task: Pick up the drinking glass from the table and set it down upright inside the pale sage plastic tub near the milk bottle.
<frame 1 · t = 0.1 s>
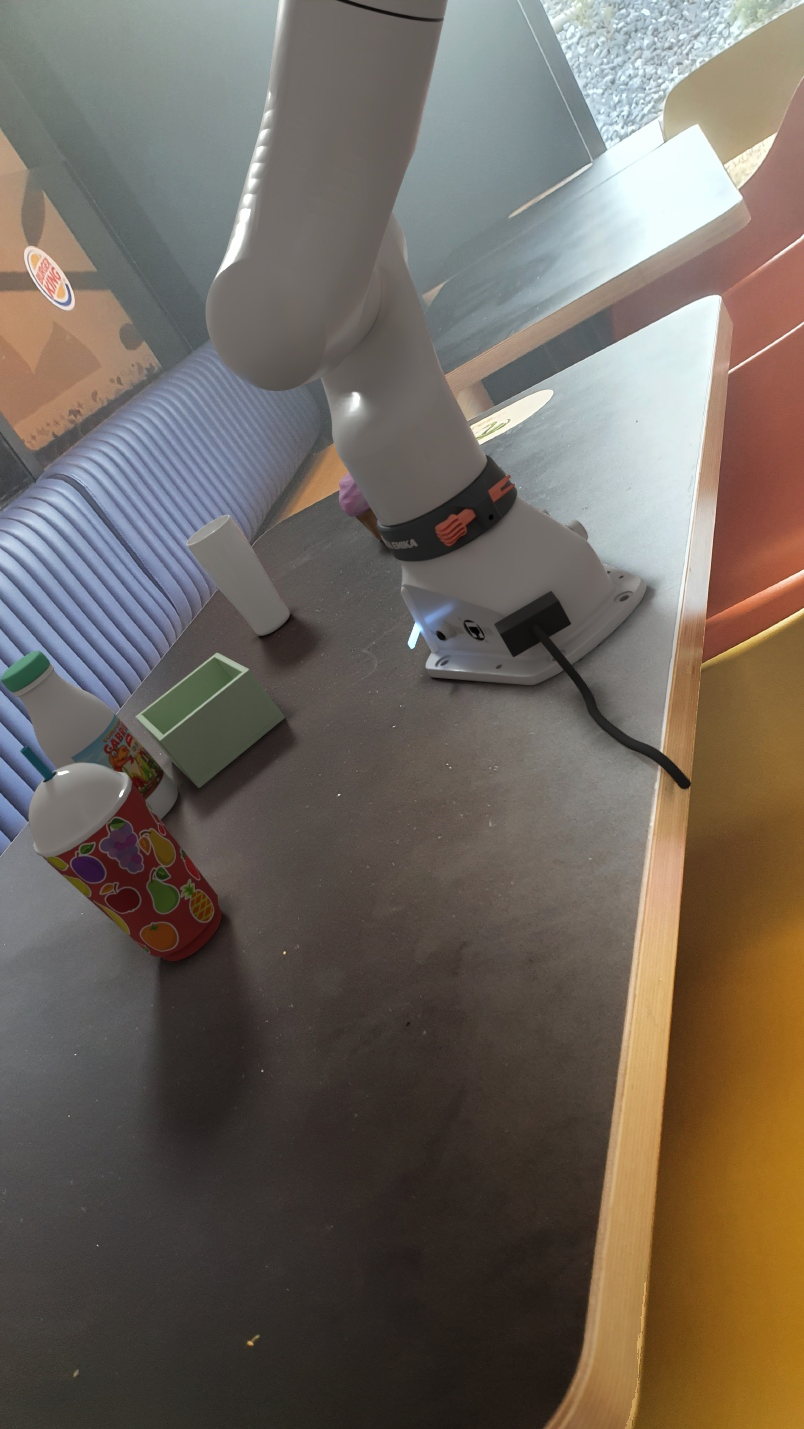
tub: (226, 740, 104), on the table
milk bottle: (150, 814, 99), on the table
smoothie: (194, 935, 76), on the table
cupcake: (394, 532, 131), on the table
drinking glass: (275, 626, 126), on the table
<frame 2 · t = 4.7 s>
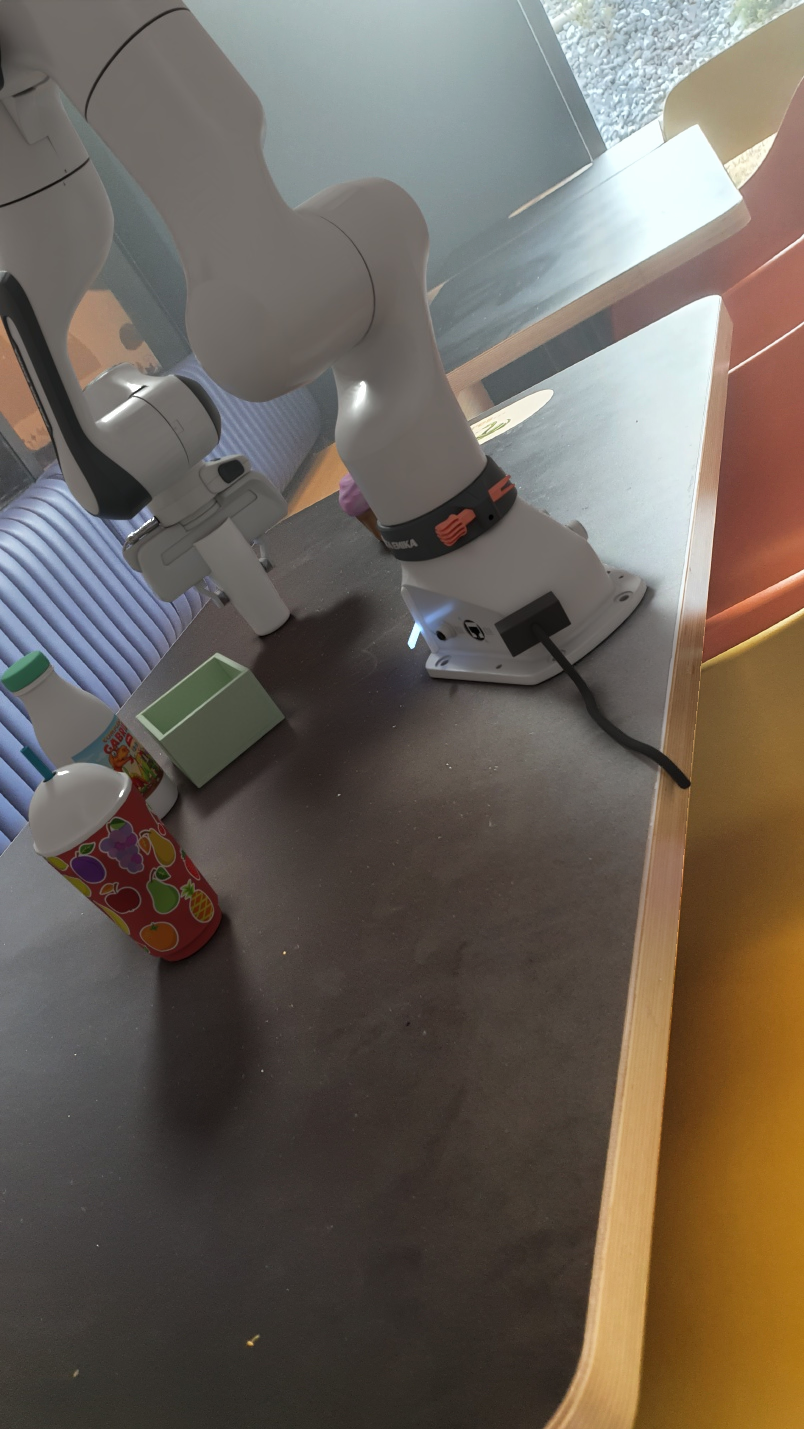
hand: (248, 586, 123), 6 cm above the table, tool pointing down, fingers closed on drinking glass, 6 cm apart
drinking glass: (275, 626, 126), on the table, touching gripper
everything else where it was.
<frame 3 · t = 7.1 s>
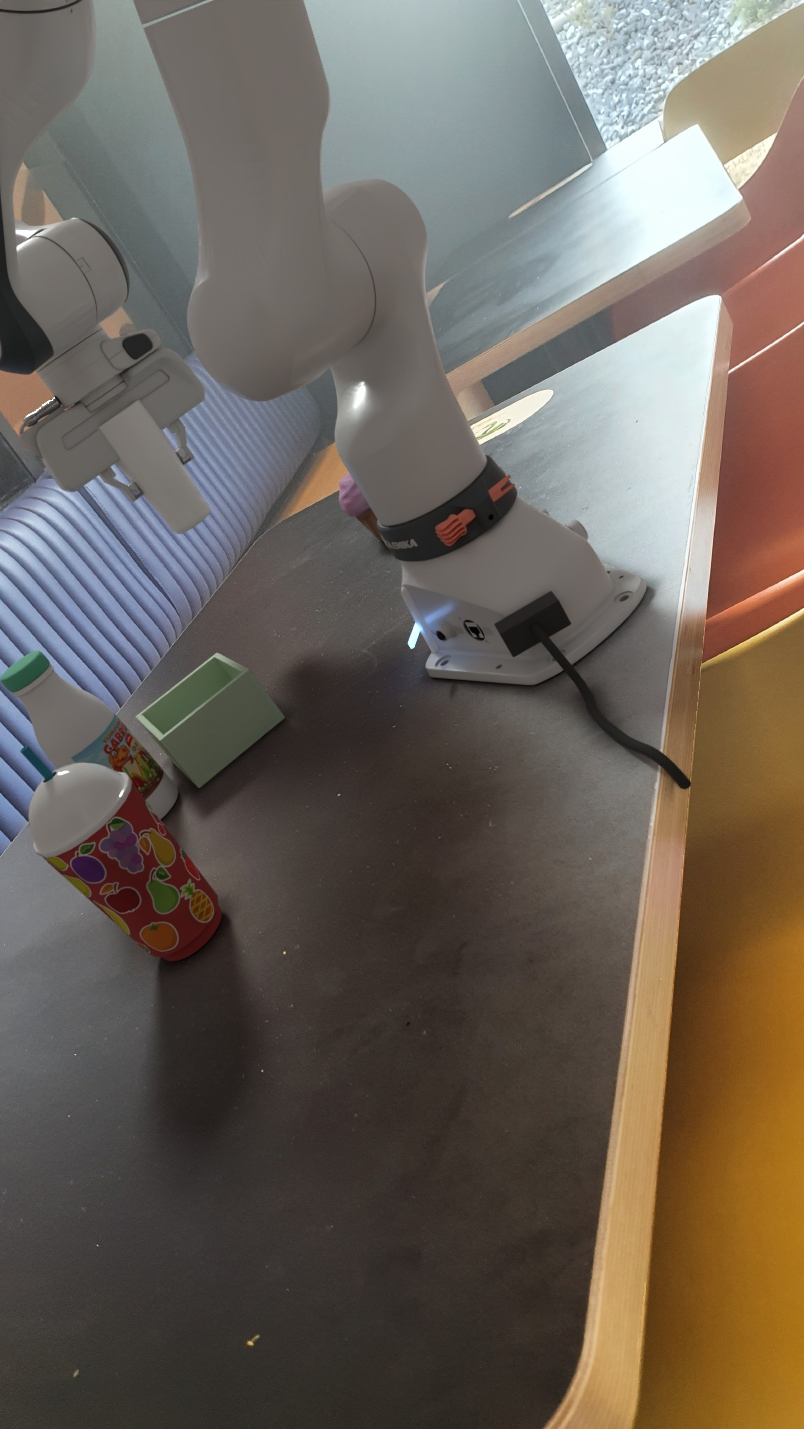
hand: (163, 479, 114), 23 cm above the table, tool pointing down, fingers closed on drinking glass, 6 cm apart
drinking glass: (195, 524, 116), point 17 cm above the table, touching gripper
everything else where it was.
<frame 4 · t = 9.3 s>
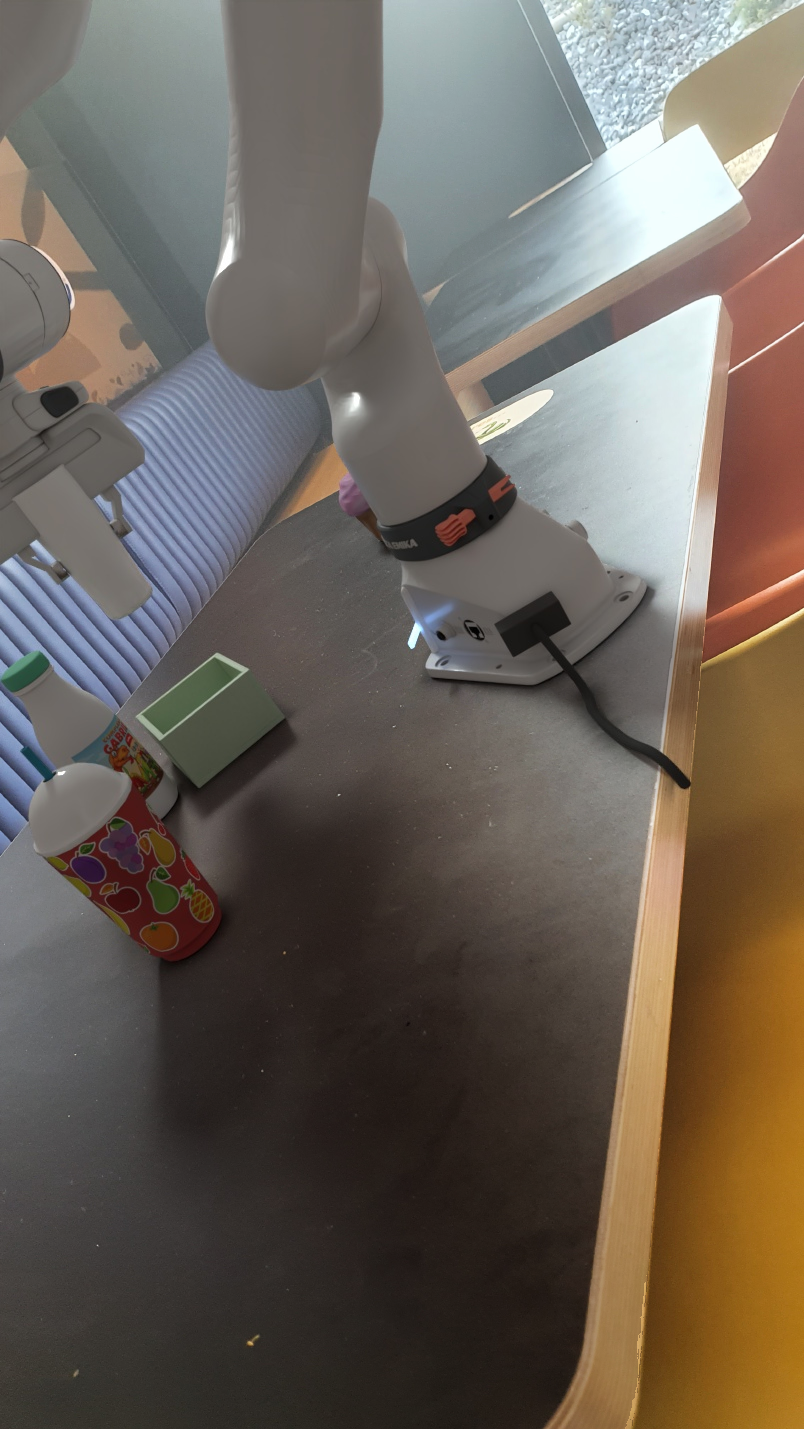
hand: (95, 557, 95), 23 cm above the table, tool pointing down, fingers closed on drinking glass, 6 cm apart
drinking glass: (134, 608, 98), point 17 cm above the table, touching gripper
everything else where it was.
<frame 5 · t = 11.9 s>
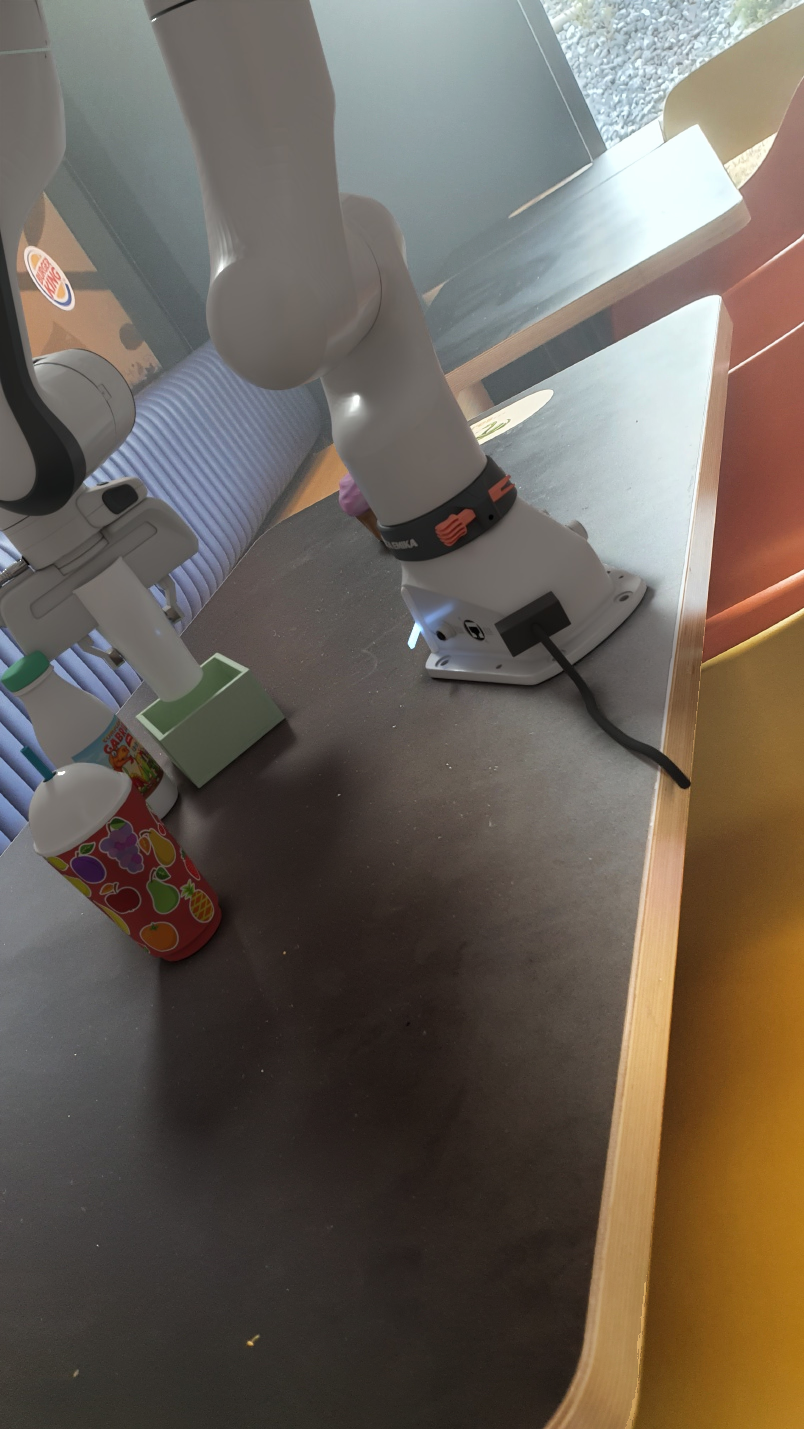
hand: (149, 642, 98), 14 cm above the table, tool pointing down, fingers closed on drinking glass, 6 cm apart
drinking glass: (185, 690, 101), point 7 cm above the table, touching gripper
everything else where it was.
when the fingers open (7 cm above the table, at t = 14.4 s): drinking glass stays where it is, resting on tub.
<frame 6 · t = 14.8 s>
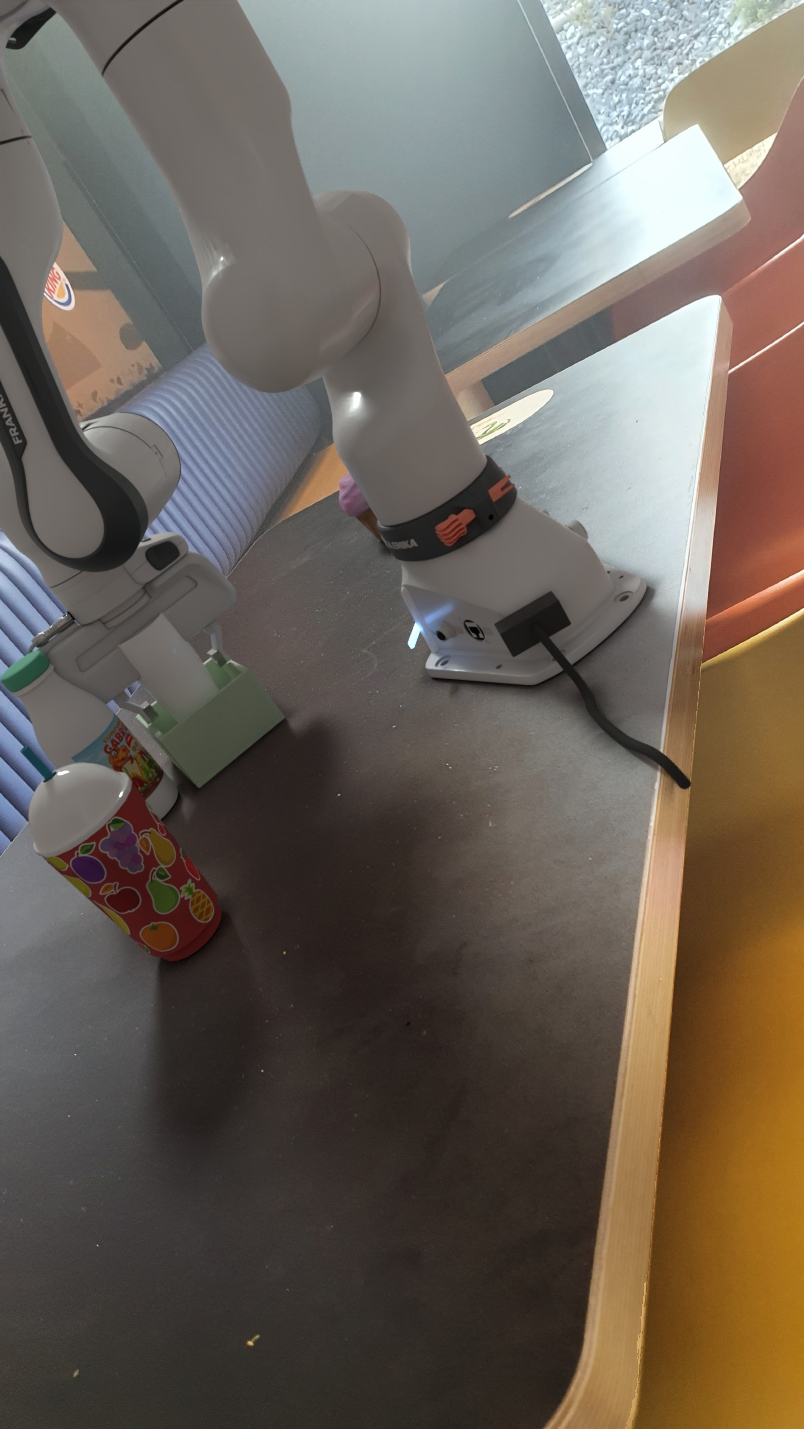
hand: (188, 691, 101), 7 cm above the table, tool pointing down, fingers open, 8 cm apart
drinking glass: (223, 737, 104), resting on tub
everything else where it was.
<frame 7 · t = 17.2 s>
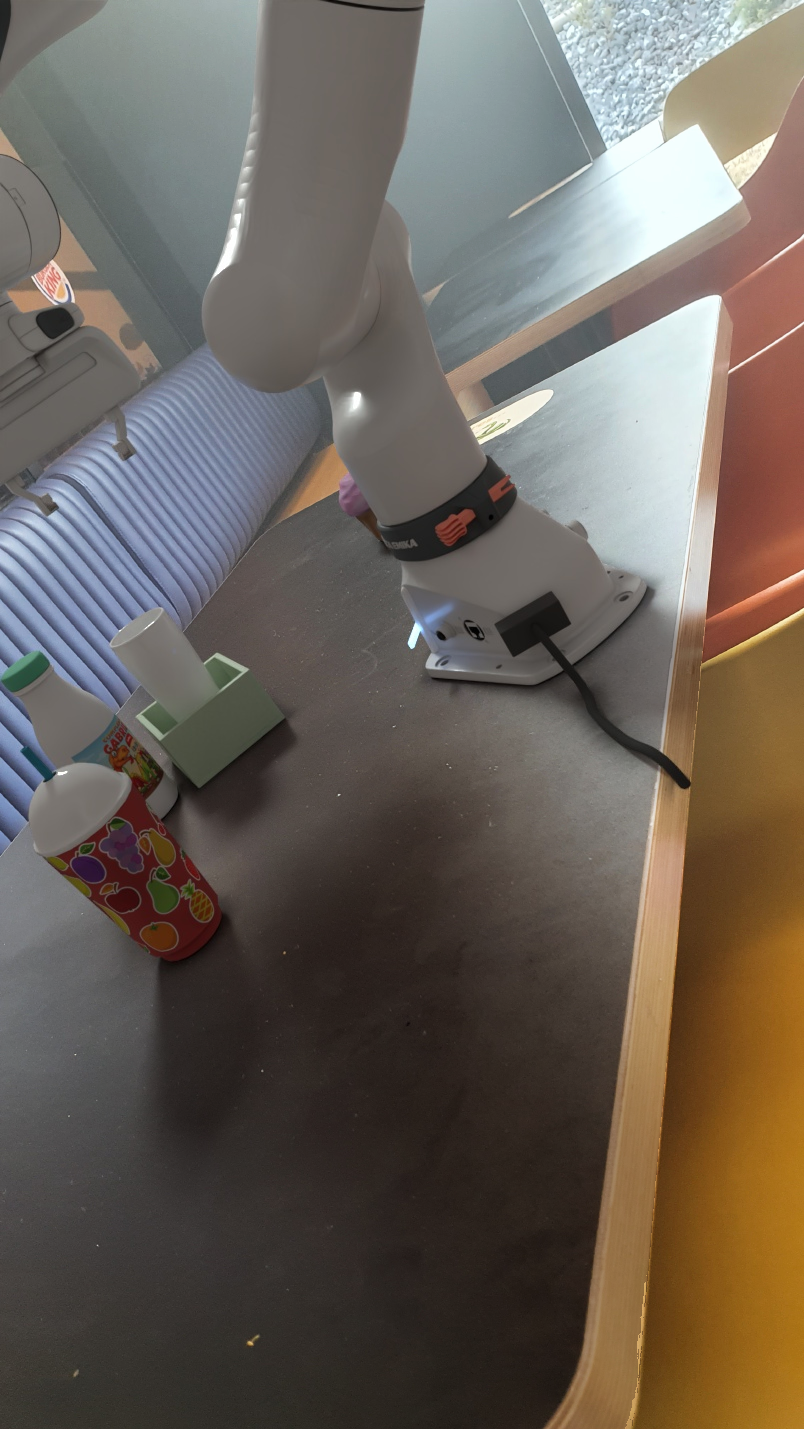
hand: (91, 484, 95), 29 cm above the table, tool pointing down, fingers open, 8 cm apart
nothing on the table moved.
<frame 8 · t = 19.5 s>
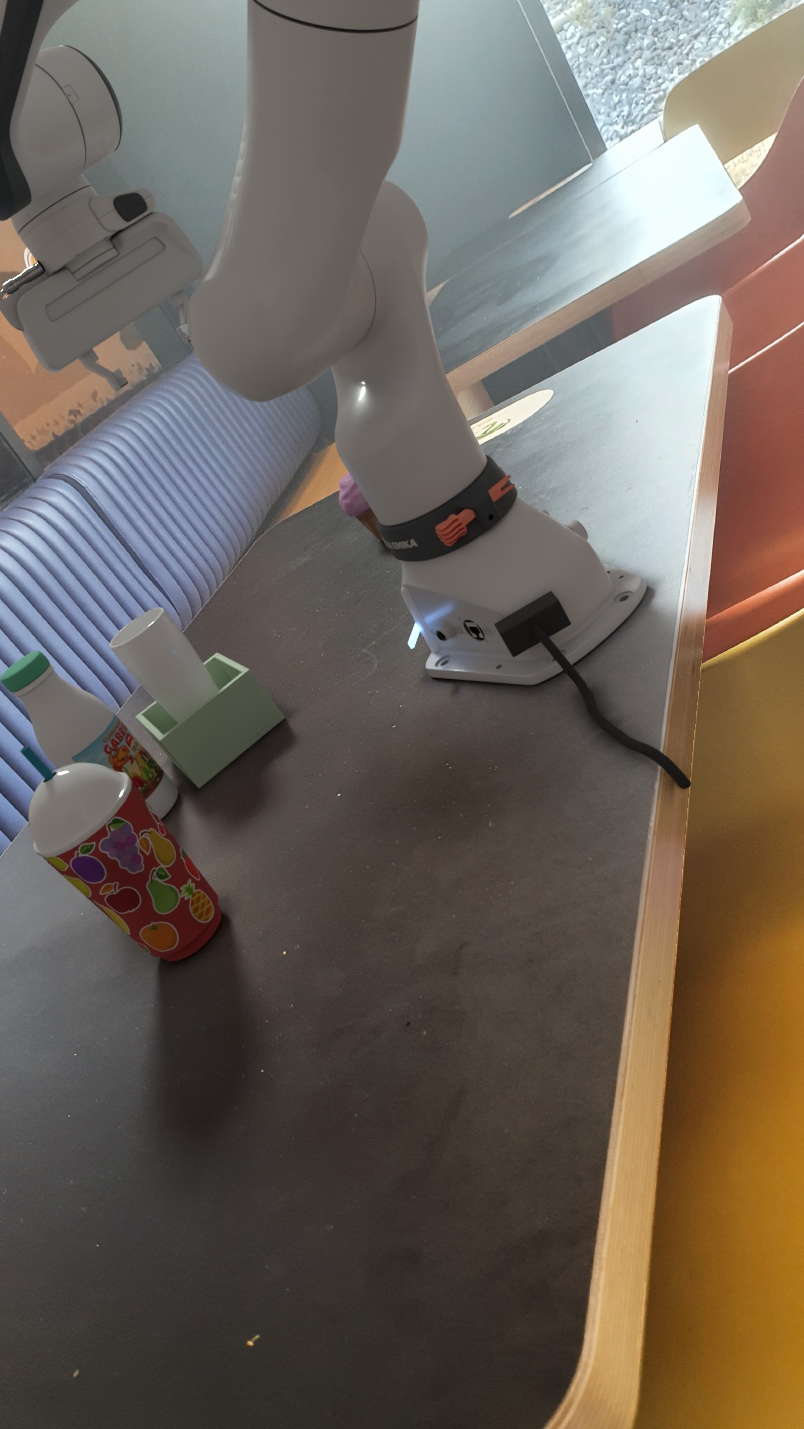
hand: (157, 363, 103), 34 cm above the table, tool pointing down, fingers open, 8 cm apart
nothing on the table moved.
at the end: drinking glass inside the target area in the tub (0.1 cm from its centre), point 0.4 cm above the tub's base; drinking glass tilted 0° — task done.
